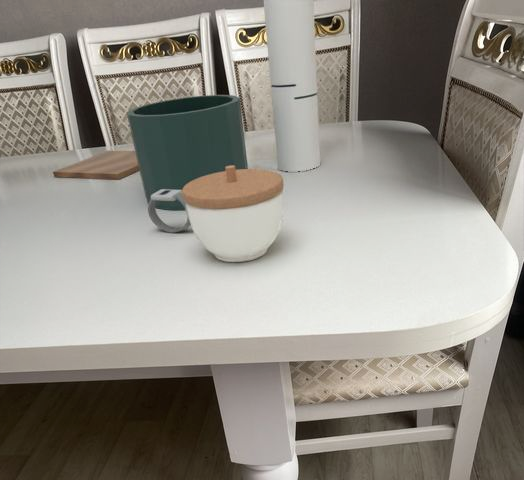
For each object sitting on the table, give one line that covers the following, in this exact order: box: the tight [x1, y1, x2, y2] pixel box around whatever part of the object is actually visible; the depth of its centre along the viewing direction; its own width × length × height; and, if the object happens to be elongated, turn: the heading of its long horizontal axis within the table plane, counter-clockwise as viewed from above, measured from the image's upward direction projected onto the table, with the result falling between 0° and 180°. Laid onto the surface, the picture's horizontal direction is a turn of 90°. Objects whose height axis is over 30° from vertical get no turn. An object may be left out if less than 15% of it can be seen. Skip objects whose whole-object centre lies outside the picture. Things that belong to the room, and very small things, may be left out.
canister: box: [126, 94, 249, 211], centre depth 77 cm, size 16×16×12 cm
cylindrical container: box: [262, 0, 321, 173], centre depth 81 cm, size 7×7×25 cm
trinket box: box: [182, 165, 285, 263], centre depth 57 cm, size 11×11×9 cm
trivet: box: [52, 150, 140, 181], centre depth 102 cm, size 16×16×1 cm
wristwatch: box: [147, 189, 191, 234], centre depth 66 cm, size 6×3×5 cm, turn 66°
